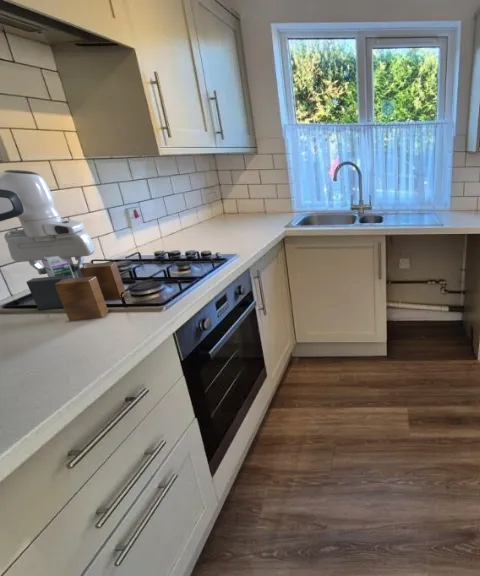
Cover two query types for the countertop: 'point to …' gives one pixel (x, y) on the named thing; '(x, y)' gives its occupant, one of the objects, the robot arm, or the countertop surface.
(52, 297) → the grey boxes
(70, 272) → the syrup box
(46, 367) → the countertop surface
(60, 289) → the wooden blocks
